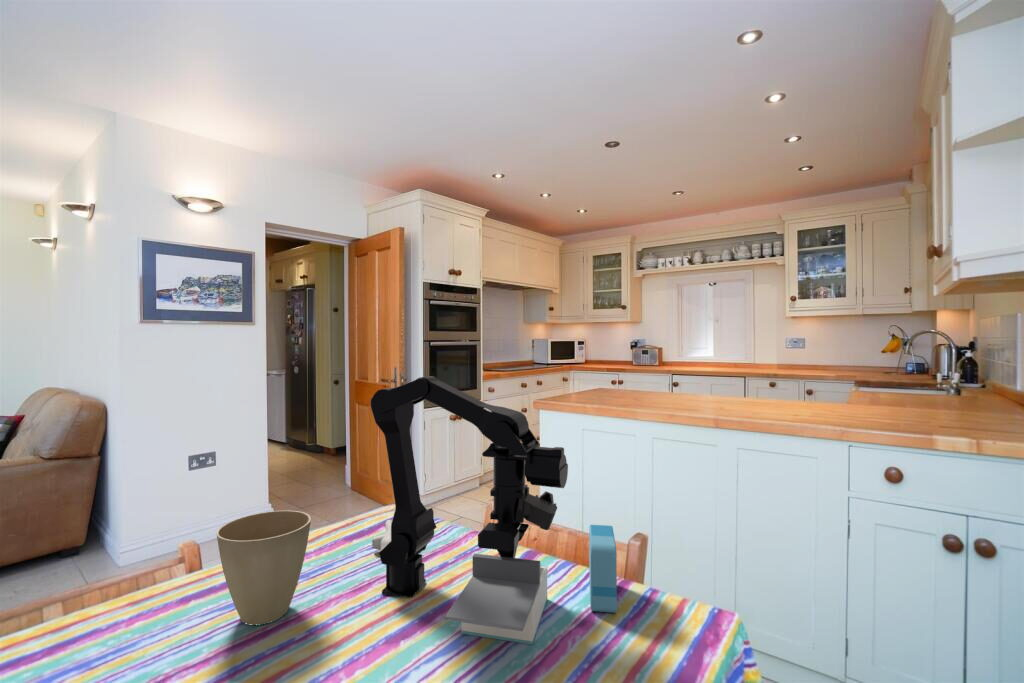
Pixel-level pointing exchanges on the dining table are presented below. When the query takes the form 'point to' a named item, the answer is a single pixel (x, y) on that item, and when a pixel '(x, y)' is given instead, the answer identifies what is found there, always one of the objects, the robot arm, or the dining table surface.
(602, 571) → the data package
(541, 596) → the box
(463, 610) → the lid
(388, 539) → the bunny figurine
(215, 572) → the dining table surface
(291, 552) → the plant pot
